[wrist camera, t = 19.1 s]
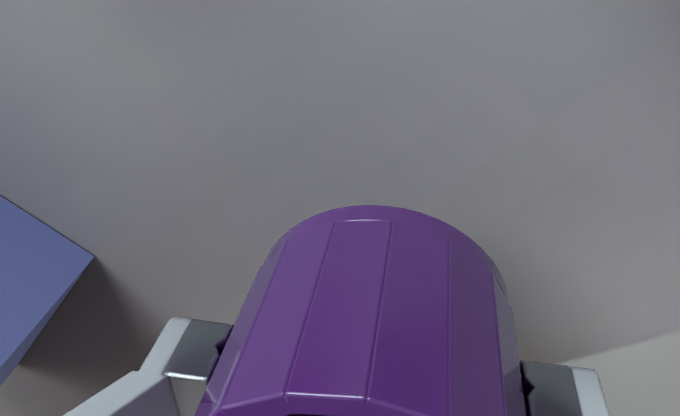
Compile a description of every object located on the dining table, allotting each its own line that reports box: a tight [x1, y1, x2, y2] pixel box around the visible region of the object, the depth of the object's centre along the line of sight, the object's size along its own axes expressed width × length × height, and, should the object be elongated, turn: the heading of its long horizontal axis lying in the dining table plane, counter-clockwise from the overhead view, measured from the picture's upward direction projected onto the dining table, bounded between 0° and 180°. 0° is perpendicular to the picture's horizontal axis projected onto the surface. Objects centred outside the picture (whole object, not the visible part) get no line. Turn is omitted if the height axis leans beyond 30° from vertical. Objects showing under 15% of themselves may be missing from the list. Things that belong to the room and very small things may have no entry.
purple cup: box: [194, 205, 527, 416], centre depth 11 cm, size 6×6×5 cm
